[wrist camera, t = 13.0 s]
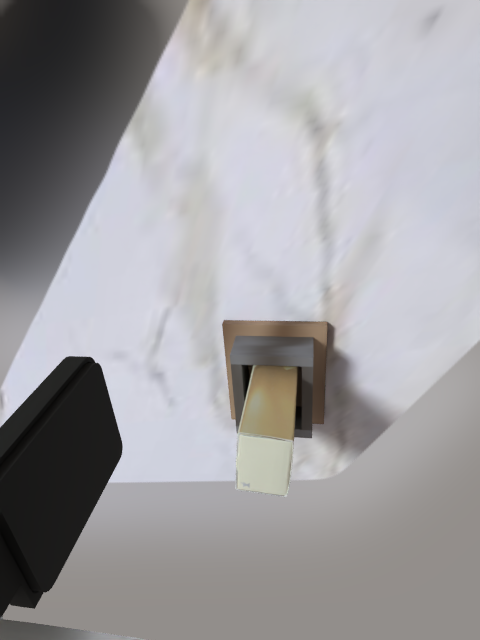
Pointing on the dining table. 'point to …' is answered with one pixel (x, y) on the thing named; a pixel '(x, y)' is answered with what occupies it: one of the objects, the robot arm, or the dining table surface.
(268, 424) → the skincare box
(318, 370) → the sleeve stand
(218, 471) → the dining table surface
